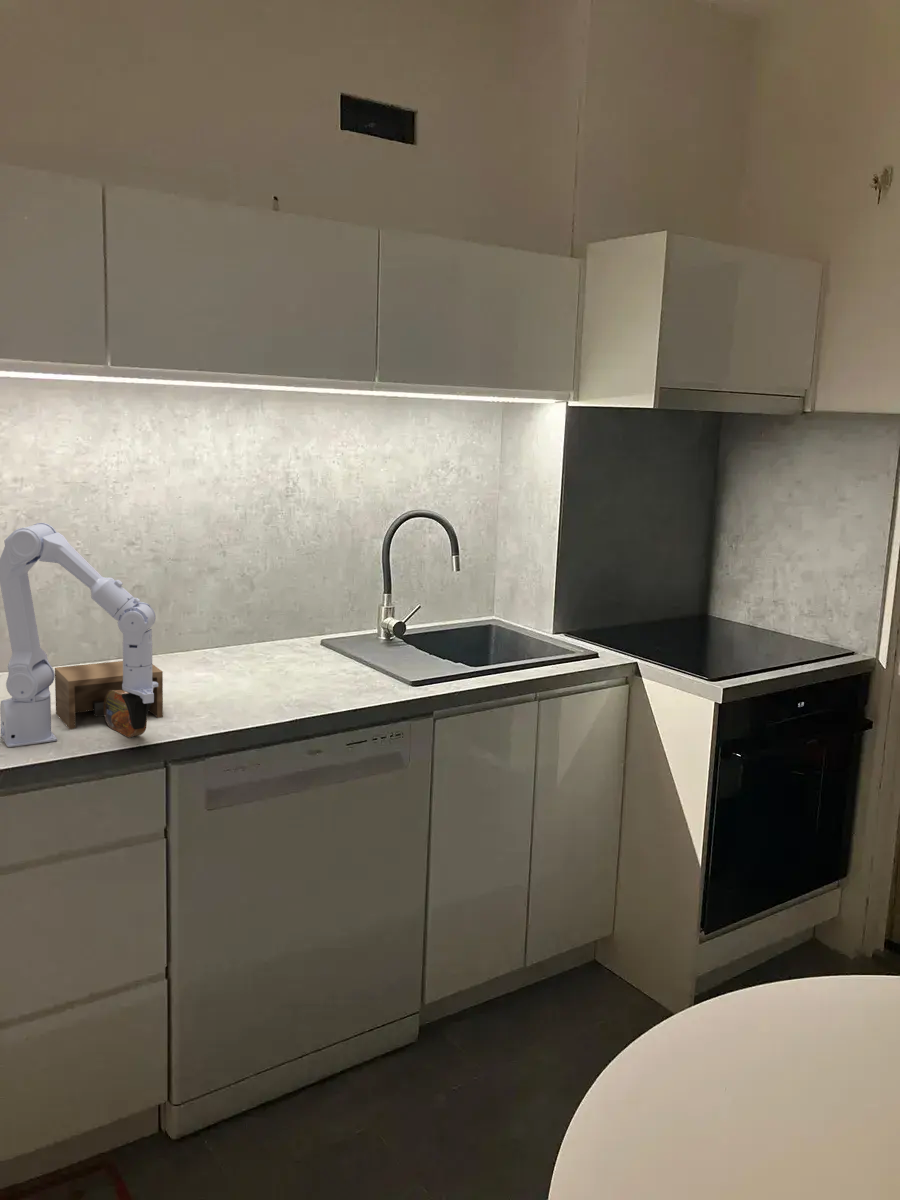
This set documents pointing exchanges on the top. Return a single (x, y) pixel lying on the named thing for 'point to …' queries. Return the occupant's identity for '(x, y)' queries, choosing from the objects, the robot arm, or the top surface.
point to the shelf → (95, 689)
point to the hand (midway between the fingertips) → (138, 728)
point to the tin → (119, 714)
